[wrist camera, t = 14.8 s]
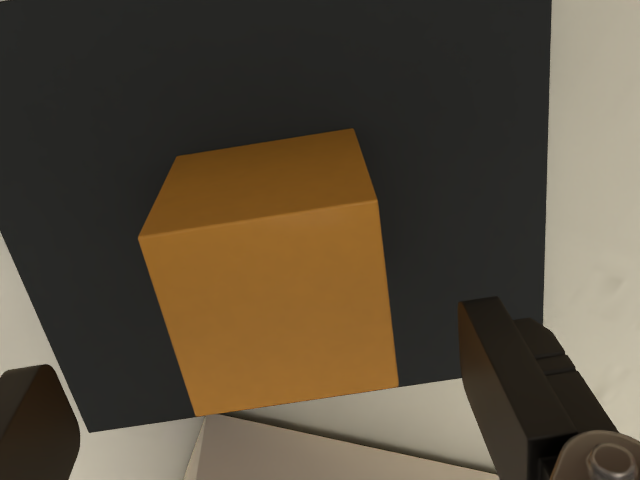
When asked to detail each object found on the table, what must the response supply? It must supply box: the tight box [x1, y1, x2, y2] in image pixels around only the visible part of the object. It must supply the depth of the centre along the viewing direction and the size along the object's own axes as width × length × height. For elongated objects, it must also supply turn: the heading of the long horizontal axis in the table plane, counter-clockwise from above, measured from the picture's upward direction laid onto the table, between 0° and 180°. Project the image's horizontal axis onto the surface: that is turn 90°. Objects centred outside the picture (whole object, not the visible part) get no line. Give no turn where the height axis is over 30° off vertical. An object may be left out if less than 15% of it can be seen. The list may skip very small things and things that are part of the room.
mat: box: [0, 0, 552, 433], centre depth 18 cm, size 16×14×1 cm
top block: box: [138, 128, 399, 417], centre depth 16 cm, size 5×5×5 cm
